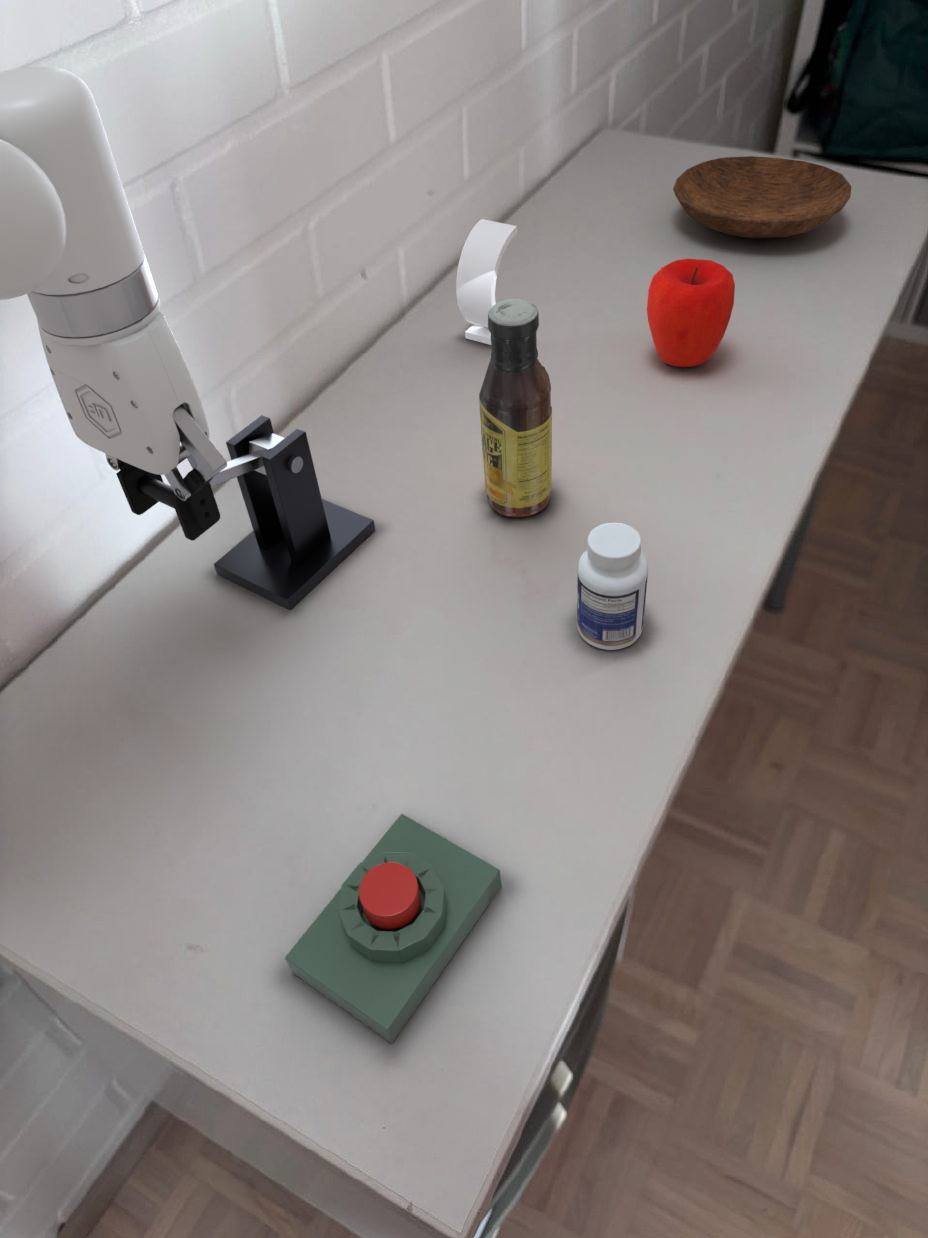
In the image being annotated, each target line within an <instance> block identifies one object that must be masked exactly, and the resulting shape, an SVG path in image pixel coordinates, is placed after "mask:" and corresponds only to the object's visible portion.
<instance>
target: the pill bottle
mask: <svg viewBox="0 0 928 1238" xmlns="http://www.w3.org/2000/svg"><path fill="white" fill-rule="evenodd" d="M576 571H577V572H576V573H577V574H576V575H577V581H576V582H577V585H576V586H577V589H576V590H577V591H576V628H577V631H578V633H579V636H581V638H582V639H583V640H584V642H585V643H587V644H589V645H591V646H593V647H594V648H597V649H601V650H606V651H616V650H621V649H624V648H628V647H630V646H631V645H633V644H634V643H635V642H636V641H637V640H638V639H639V638H640V637H641V634H642V632H643V629H644V623H645V612H646V611H645V610H646V599H647V586H648V578H649V577H648V576H649V565H648V561H647V559H646V557H645V555H644V554H643V552H642V537H641V535H640V533H639V532H638V530H637V529H636V528H634V527H632V526H631V525H629V524H626V523H622V522H605V523H601V524H599V525H598V526H595V527H594V528H592V529H591V531H590V532H589V534H588V536H587V543H586V550H584V552H583V553H582V554H581V556H580V558H579V560H578V563H577V569H576Z"/></svg>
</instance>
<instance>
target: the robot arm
mask: <svg viewBox="0 0 928 1238" xmlns="http://www.w3.org/2000/svg"><path fill="white" fill-rule="evenodd" d="M25 295H27V298H28V301H29V303H30V305H31V308H32V310H33V312H34V314H35V316H36V320H37V321H36V322H37V326H38V333H39V337H40V341H41V345H42V348H43V352H44V355H45V358H46V362H47V365H48V367H49V371H50V374H51V377H52V379H53V382H54V385H55V389H56V390H57V393H58V396H59V398H60V402H61V404H62V406H63V409H64V411H65V414H66V416H67V419H68V421H69V423H70V425H71V428H72V431H73V433H74V434H75V436H76V437H77V438H78V439H79V440H80V441H81V442H83V443H84V444H85V445H87V446H89V447H91V448H93V449H95V450H97V451H99V452H101V453H104V455H105V459H106V462H107V465H109V467H110V468H111V469H112V470H114V471H116V473H115V474H116V477H117V479H118V482H119V483H120V486H121V489H122V491H123V494H124V497H125V498H126V501H127V504H128V506H129V508H130V510H131V512H132V513H133V514H135V515H137V516H141V515H143V514H145V513H146V512H147V511H149V510H150V509H152V508H153V507H154V506H155V505H157V504H158V503H160V502H159V501H157V500H155V499H152V498H150V497H148V496H146V495H144V494H142V493H140V492H139V491H138V490H137V482H138V480H139V479H140V478H141V477H142V476H146V475H147V476H150V477H152V478H154V479H157V480H159V481H161V482H163V483H165V482H164V479H163V477H162V476H164V477H165V479H166V480H167V482H168V484H170V486H171V487H172V489H173V491H174V493H175V494H176V495H174V496H173V497H172V498H171V500H172V503H173V505H174V508H175V509H174V508H173V509H174V511H175V513H176V515H177V518H178V522H179V524H180V528H181V530H182V532H183V535H184V537H185V539H187V540H190V541H196V540H197V539H199V537H201V536H202V535H203V534H204V533H205V532H207V531H208V530H209V529H210V528H212V527H213V526H214V525H216V524H217V523H219V521H220V519H221V513H220V510H219V509H220V508H219V507H218V503H217V501H216V497H215V494H214V492H213V488H212V487H211V485H210V482H211V481H212V480H213V477H214V476H215V475H216V474H217V473H219V472H220V471H221V470H223V469H224V468H225V467H227V462H228V461H227V460H226V459H225V457H224V456H223V455H222V453H221V451H219V449H218V448H217V447H216V446H215V445H214V443H213V442H212V441H211V439H210V429H209V424H208V421H207V417H206V414H205V413H206V412H205V410H204V406H203V404H202V401H201V397H200V394H199V392H198V389H197V387H196V384H195V381H194V380H193V377H192V374H191V372H190V369H189V366H188V363H187V361H186V358H185V357H184V355H183V353H182V350H181V347H180V345H179V343H178V342H177V340H176V339H177V338H176V337H175V335H174V333H173V331H172V329H171V327H170V325H169V323H168V321H167V319H166V317H165V314H163V313H162V312H161V308H162V307H161V305H162V304H161V303H162V302H161V300H160V297H159V293H158V290H157V288H156V284H155V281H154V278H153V275H152V271H151V269H150V265H149V262H148V260H147V256H146V254H145V251H144V248H143V244H142V241H141V238H140V235H139V232H138V229H137V226H136V223H135V219H134V217H133V213H132V211H131V207H130V204H129V201H128V197H127V194H126V191H125V188H124V185H123V182H122V179H121V176H120V173H119V170H118V167H117V163H116V160H115V157H114V154H113V150H112V148H111V145H110V142H109V139H108V135H107V132H106V129H105V126H104V123H103V119H102V116H101V114H100V111H99V108H98V106H97V103H96V100H95V98H94V94H93V93H92V91H91V90H90V88H89V86H88V85H87V84H86V82H85V81H83V79H82V78H81V77H80V76H78V75H77V74H75V73H74V72H71V71H70V70H67V69H64V68H59V67H53V66H52V67H51V66H27V67H20V68H19V67H17V68H12V69H7V70H3V71H0V301H5V300H10V299H11V300H12V299H15V298H18V297H22V296H25ZM180 444H181V445H180ZM186 459H187V461H188V463H189V465H190V466H191V468H192V469H191V470H189V472H187V473H186V475H185V476H184V477H183V476H182V473H181V471H179V469H178V466H179V465H181V463H183V462H184V461H185V460H186ZM183 478H184V479H183Z"/></svg>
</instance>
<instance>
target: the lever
mask: <svg viewBox="0 0 928 1238" xmlns="http://www.w3.org/2000/svg"><path fill="white" fill-rule="evenodd" d="M284 438H285V437H283V436H281V435H278V434H276V433H274V434H273V433H272V434H269V435H266V436H264V437H261V438H258V439H255V440H253V441H250V442H249V454H247V455H244V456H241V457H239V458H236V459H233V460H231V459H230V460H228V461H226V462H227V467H225V468H224V469H223V470H221V471H220V472H219V473H217V474H216V475H215V476H214V477H213V480H212V481H211V482H210V485H211V488H212V487H214V486H217V485H220V484H222V483H225V482H228V481H230V480H232V479H235V478H237V477H238V476H240V475H243V474H245V473H248V472H250V471H253V470H255V471H257V472H260V473H262V474H264V475H266V471H265V468H264V464H263V461H262V456H263V455H264V454H265V453H267V452H268V451H269V450H270V449H272V448H273V447H274V446H276V445H277V444H278V443H279V442H281V441H282V440H283V439H284ZM183 479H184V477H183ZM163 482H164V481H163ZM163 482H161V481H159V480H157V479H154V478H152V477H150V476H147V475H146V476H142V477H141V478H140V479H139V480H138V482H137V490H138V491H139V492H140V493H142V494H144V495H146V496H148V497H150V498H152V499H155V500H157V501H159V502H158V503H161V504H164V505H165V506H167V507H170V508H172V509H174V510H175V508H174V505H173V503H172V500H171V498H172V497H173V496H174V495H176V494H175V493H174V491H173V489H172V487H171V486H170V484H169V483H165V482H164V483H163Z"/></svg>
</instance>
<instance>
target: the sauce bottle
mask: <svg viewBox="0 0 928 1238" xmlns="http://www.w3.org/2000/svg"><path fill="white" fill-rule="evenodd" d="M539 326H540V315H539V310H538V308H537V306H536V305H535V303H533V302H531V301H529V300H524V299H522V298H509V299H504V300H501V301H498V302H496V304H495V305H494V306H493V307H492V308H491V309H490V310H489V313H488V329H489V331H490V333H491V345H490V348H491V349H490V350H491V352H490V359H489V362H488V365H487V368H486V372H485V374H484V378H483V381H482V384H481V387H480V390H479V393H478V402H479V417H480V435H481V449H482V450H481V451H482V462H483V476H484V478H483V479H484V489H485V493H486V498H487V502H488V504H489V505H490V507H491V508H492V509H494V511H496V512H497V514H500V516H504V517H511V518H525V517H530V516H534V515H535V514H537V513H540V512H541V511H543V510H544V509H545V508H546V507H547V506H548V503H549V501H550V497H551V490H552V485H553V484H552V481H553V480H552V478H553V477H552V475H553V473H552V472H553V470H552V469H553V468H552V467H553V461H552V460H553V459H552V458H553V407H552V400H551V399H552V398H551V396H552V395H551V392H552V386H551V384H552V383H551V380H550V375H549V372H547V369H546V367H545V366H543V365H542V363H541V362H540V361H539V359H538V357H539V351H538V347H537V345H538V344H537V343H538V342H537V332H538V330H539Z"/></svg>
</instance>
